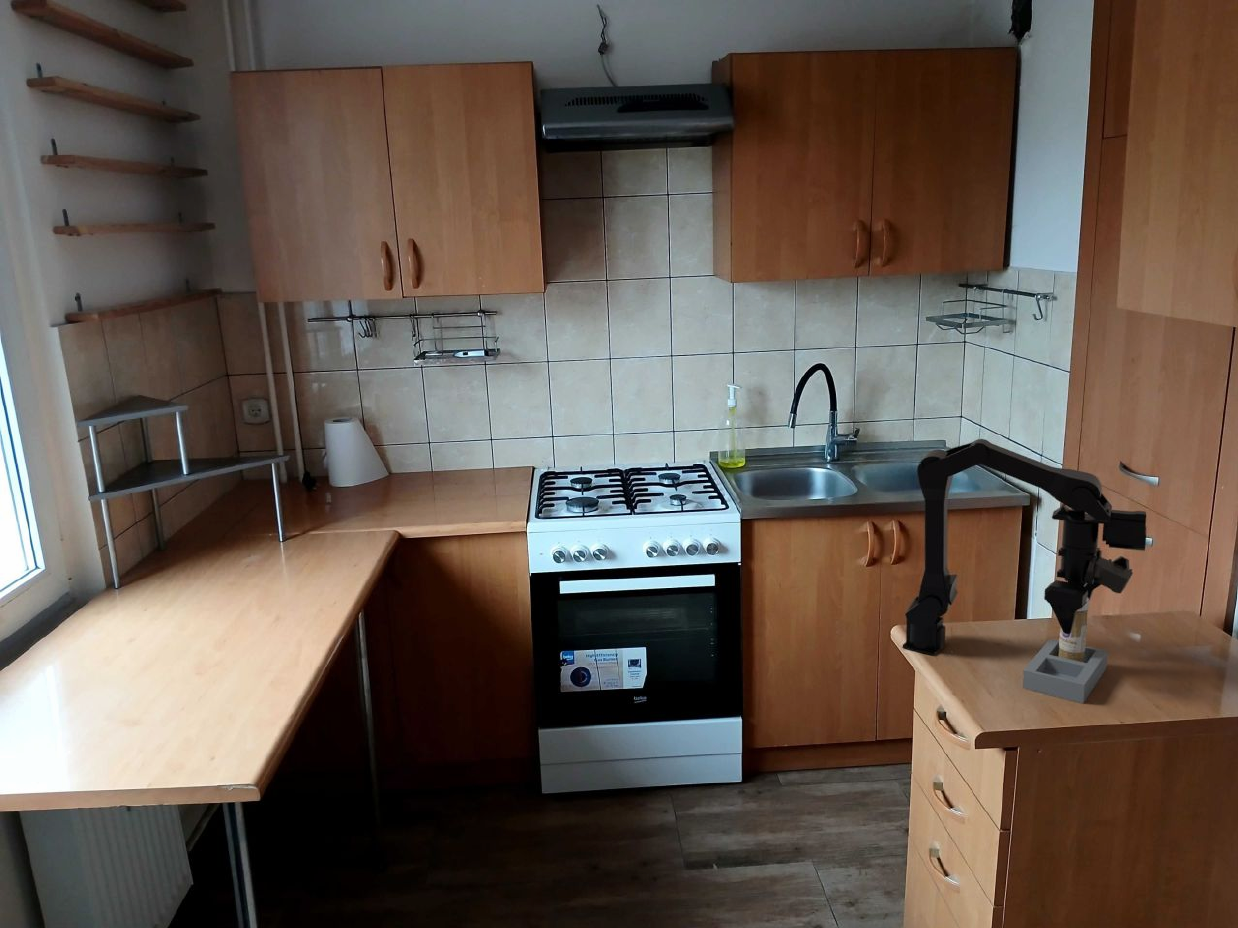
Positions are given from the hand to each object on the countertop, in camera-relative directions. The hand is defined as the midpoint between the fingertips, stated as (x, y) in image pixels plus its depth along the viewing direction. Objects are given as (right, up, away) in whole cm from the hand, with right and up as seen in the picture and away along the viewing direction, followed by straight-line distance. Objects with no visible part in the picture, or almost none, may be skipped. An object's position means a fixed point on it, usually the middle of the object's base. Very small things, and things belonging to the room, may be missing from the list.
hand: (1074, 624), depth 169 cm
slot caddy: (-2, -10, -1) cm, 10 cm away
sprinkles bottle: (0, -8, +2) cm, 8 cm away
